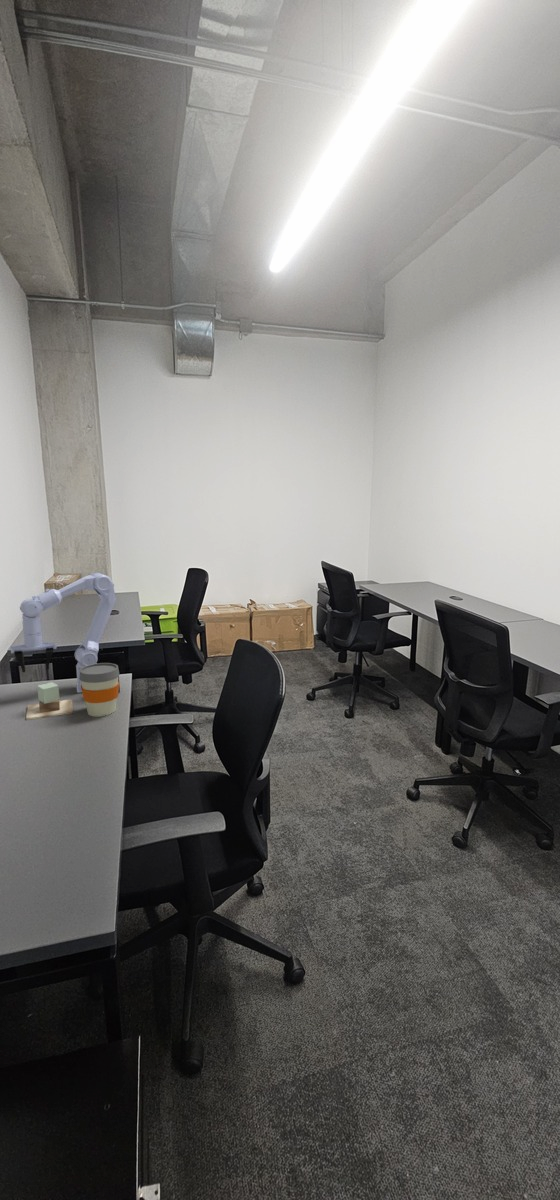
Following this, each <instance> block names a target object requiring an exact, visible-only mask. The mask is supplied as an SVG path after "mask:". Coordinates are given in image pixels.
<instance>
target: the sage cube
mask: <svg viewBox="0 0 560 1200" xmlns="http://www.w3.org/2000/svg"><path fill="white" fill-rule="evenodd" d="M36 687H37V688H36V689H37V698H38V701H41V702H43V703H44V704H45V703H49V702H53V701H57V700H59V701H61V698H60V686H59V685H58V684H57V683H54V681H52V682H47V683H43V684H42V683H41V684H38V685H36Z"/></svg>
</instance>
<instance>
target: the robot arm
mask: <svg viewBox="0 0 560 1200" xmlns="http://www.w3.org/2000/svg"><path fill="white" fill-rule="evenodd" d="M83 590H88V591H95V592H96V594H97V596H98V598H99V599H100V601H99V603H98V606H97V608H96V611H95V613H94V616H93V618H92V621H91V623H90V626H89V628H88V631H87V633H86V635H85V638H84V639H83V640H82V641H81V642H80V643H81V644H80V645H79V646H78V648H77V649H76V650H75V651H74V658H75V660H76V661H77V662H76V663H77V664H76V665H75V668H76V681H77V685H76V693H79V694H81V693H82V690H81V686H82V683H81V680H80V679H79V676H80V669H81V668H83V667H85V666H88V665H92V664H98V663H97V662H98V659H99V658H98V653H99V651H100V650H99V649H100V648H99V646H100V645H99V644H100V641H101V639H102V636H103V634H104V631H105V628H106V626H107V623H108V621H109V619H110V616H111V613H112V611H113V609H114V605H115V603H116V601H117V597H116V592H115V584H114V582H113V581H112V578H110V576H108V575H106V574H103V573H101V572H94V573H91V575H90V574H89V575H84V577H81V578H79V579H78V580H77V579H76V580H75V581H74V582H71V583H70V584H67V585H65V586H63V587H61V588H59V589H55V588H50V589H49V588H46V589H45V590H44V592H42V593H39V594H38V595H32V596H31V598H26V599H24V600H23V601H22V602H21V604H20V606H19V610H20V611H21V613H22V631H23V642H24V644H20V645H14V646H10V654H14V658H15V659H16V660H17V662H18V664H19V665H20V668H21V670H22V673H25V672H26V666H25V659H24V657H25V656H24V652H32V651H43V650H45V659H46V670H50V662H51V659H52V656H53V653H54V650H56V649H57V647H58V646H57V642H43V634H42V622H41V615H40V614H41V612H44V611H47V610H48V609H50V608H52V607H55V606H57V605H59V604H61V602H62V600H63V599H64V598H66V597H68V596H71V595H73V594H75V593H78V592H81V591H83Z"/></svg>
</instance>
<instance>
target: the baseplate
mask: <svg viewBox="0 0 560 1200" xmlns="http://www.w3.org/2000/svg"><path fill="white" fill-rule="evenodd" d="M38 701H39V703H34V704H28V705H27V710H26V716H25V721H29V720H35V719H43V718H50V717H57V716H62V715H63V716H64V715H69V714H70V715H71V714H73V713H74V709H73V699H72V698H71V699H64V700H57V701H53V702H49V703H45V704H44V703H43V702H41V701H40V700H38Z"/></svg>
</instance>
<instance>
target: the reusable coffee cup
mask: <svg viewBox="0 0 560 1200" xmlns="http://www.w3.org/2000/svg"><path fill="white" fill-rule="evenodd" d="M117 665H118V664H116V663H111V662H100V663H99V662H98V663H97V664H92V665H88V666H85V667H83V668H81V669H80V676H79V679H80V680H81V683H82V686H81V690H82V692H81V696H82V700H83V701H84V702H85V705H86V706H85V707H86V709H87V710H86V711H87V714H88V715H89V716H91V717H105V715H106V716H109V715H108V714H110V715H111V713H112V714H114V713H115V712H116V711H117V702H118V701H117V700H118V699H117V698H118V697H119V693H118V691H119V685H120V681H119V682H118V676H119V677H120V670H119V665H118V666H117ZM115 710H116V711H115ZM114 711H115V712H114ZM113 712H114V713H113Z"/></svg>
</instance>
